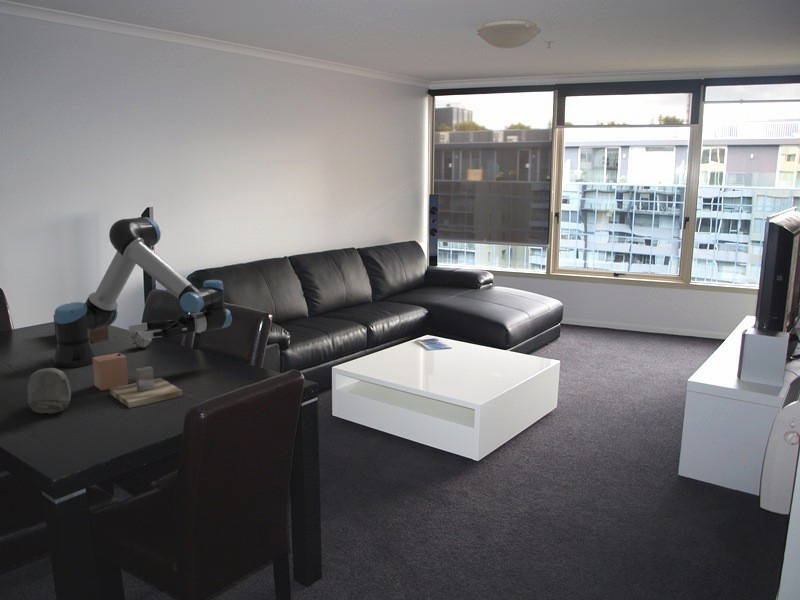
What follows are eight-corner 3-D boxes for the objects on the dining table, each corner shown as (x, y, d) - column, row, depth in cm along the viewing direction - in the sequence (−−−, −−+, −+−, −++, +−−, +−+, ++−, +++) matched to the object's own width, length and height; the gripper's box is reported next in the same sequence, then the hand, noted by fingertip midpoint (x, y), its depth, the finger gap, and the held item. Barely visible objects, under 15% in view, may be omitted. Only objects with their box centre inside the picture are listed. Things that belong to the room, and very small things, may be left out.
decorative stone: (72, 398, 222) (68, 355, 219) (72, 415, 206) (67, 369, 203) (32, 403, 216) (27, 359, 213) (28, 421, 201) (23, 374, 198)
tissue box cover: (55, 335, 305) (53, 314, 303) (87, 330, 315) (85, 310, 313) (75, 346, 287) (73, 324, 285) (108, 340, 297) (107, 319, 295)
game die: (148, 356, 286) (161, 338, 284) (132, 353, 278) (145, 335, 277) (140, 342, 290) (152, 325, 288) (123, 340, 283) (136, 322, 281)
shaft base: (110, 393, 226) (107, 367, 224) (161, 383, 238) (159, 357, 236) (129, 408, 213) (127, 380, 211) (182, 395, 225) (180, 369, 223)
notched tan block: (94, 385, 234) (92, 355, 232) (121, 380, 241) (119, 351, 238) (101, 390, 229) (98, 359, 227) (128, 384, 236) (126, 355, 233)
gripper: (207, 338, 243) (150, 349, 229) (178, 327, 262) (124, 336, 248) (205, 319, 242) (148, 328, 228) (177, 309, 260) (123, 316, 246)
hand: (136, 332), depth 238 cm, fingers open, 13 cm apart
